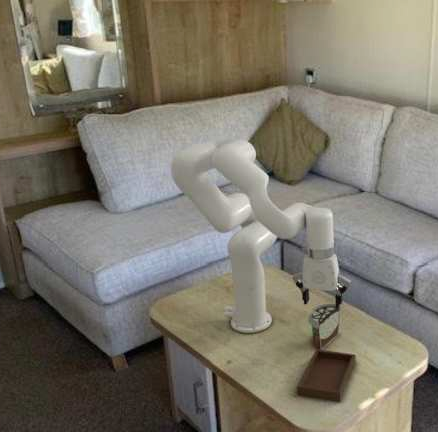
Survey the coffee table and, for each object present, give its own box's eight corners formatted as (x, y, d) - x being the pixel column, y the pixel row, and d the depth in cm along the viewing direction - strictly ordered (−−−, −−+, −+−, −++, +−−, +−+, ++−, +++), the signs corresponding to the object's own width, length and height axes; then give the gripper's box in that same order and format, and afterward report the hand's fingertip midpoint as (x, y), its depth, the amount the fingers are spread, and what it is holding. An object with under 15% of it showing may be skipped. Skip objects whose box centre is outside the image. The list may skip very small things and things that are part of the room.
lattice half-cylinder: (324, 327, 194) (324, 299, 190) (340, 333, 191) (340, 304, 188) (300, 346, 184) (300, 316, 181) (318, 352, 181) (317, 322, 178)
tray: (297, 395, 163) (296, 386, 162) (316, 357, 179) (316, 349, 178) (340, 402, 161) (340, 393, 160) (355, 362, 177) (355, 354, 176)
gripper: (287, 253, 175) (290, 307, 181) (346, 259, 172) (347, 313, 178) (295, 243, 182) (298, 295, 188) (353, 248, 179) (353, 300, 185)
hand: (322, 303), depth 183 cm, fingers open, 9 cm apart
